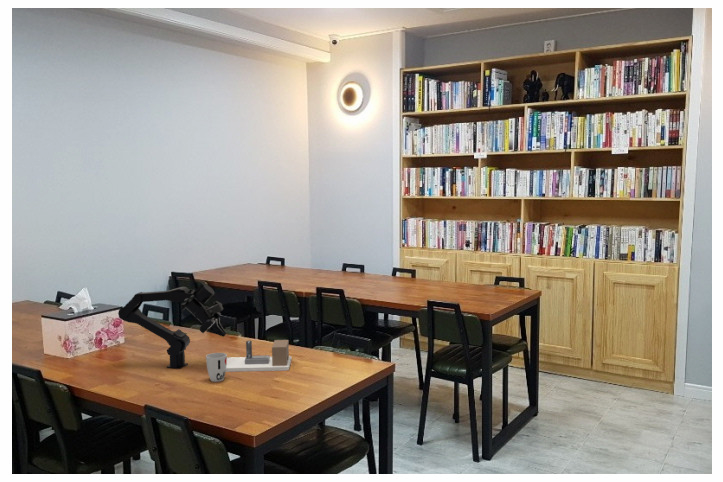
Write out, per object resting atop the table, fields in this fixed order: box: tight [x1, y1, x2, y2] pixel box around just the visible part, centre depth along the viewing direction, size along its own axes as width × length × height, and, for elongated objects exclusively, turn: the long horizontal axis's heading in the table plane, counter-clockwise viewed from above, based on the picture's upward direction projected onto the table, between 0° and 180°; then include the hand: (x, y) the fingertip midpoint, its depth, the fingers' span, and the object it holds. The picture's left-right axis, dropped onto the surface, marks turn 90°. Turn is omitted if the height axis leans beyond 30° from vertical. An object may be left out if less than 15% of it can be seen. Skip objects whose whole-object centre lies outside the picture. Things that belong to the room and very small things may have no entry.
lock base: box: [225, 339, 292, 373], centre depth 262 cm, size 30×16×10 cm, turn 92°
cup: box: [205, 352, 228, 383], centre depth 243 cm, size 8×8×10 cm
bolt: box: [245, 340, 270, 360], centre depth 262 cm, size 10×3×9 cm, turn 92°
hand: (225, 335), depth 261 cm, fingers closed
